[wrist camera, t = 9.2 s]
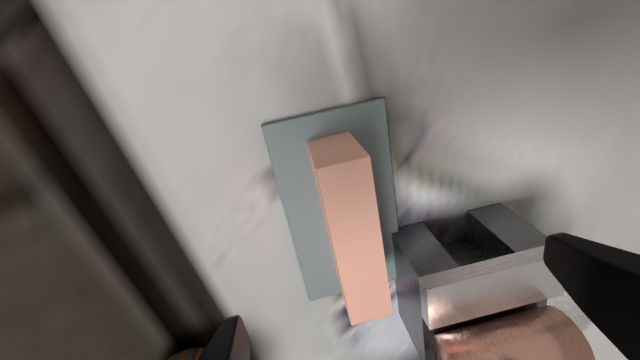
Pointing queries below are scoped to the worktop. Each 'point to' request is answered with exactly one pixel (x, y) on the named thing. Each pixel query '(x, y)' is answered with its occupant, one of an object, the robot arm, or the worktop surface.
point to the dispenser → (483, 293)
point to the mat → (301, 190)
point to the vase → (187, 354)
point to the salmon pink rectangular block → (352, 224)
